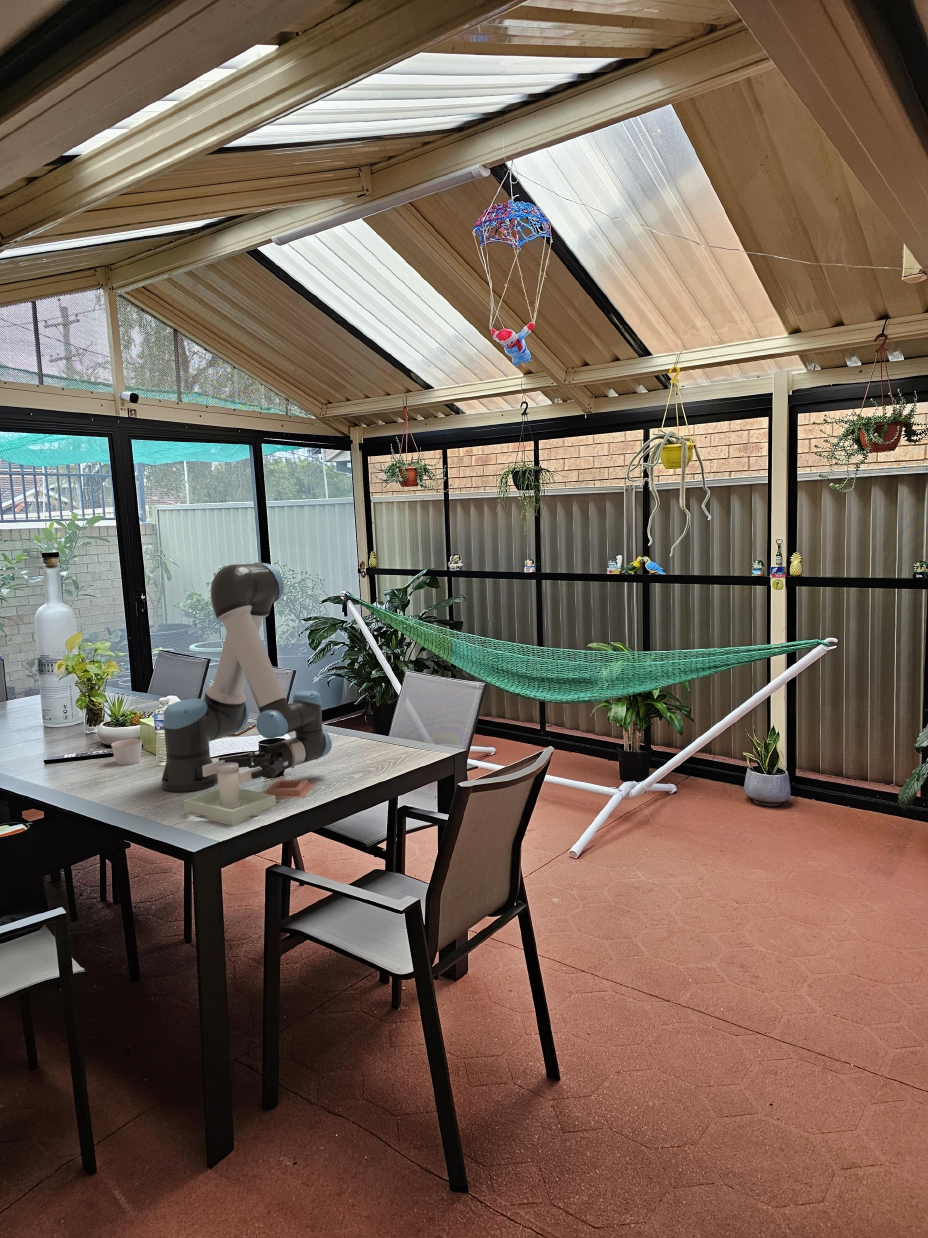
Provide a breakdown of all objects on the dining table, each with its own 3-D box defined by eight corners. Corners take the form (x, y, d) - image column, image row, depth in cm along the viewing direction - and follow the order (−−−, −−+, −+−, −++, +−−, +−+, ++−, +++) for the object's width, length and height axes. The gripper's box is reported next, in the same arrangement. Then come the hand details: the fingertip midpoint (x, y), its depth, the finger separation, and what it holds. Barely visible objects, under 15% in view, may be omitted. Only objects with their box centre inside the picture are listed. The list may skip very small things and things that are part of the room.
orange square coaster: (259, 801, 219) (259, 792, 219) (272, 787, 231) (272, 778, 231) (304, 800, 218) (304, 791, 218) (315, 787, 230) (315, 778, 230)
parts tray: (184, 814, 211) (183, 800, 210) (228, 798, 222) (227, 785, 222) (232, 825, 201) (232, 811, 201) (276, 809, 212) (275, 795, 212)
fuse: (216, 811, 209) (213, 768, 208) (223, 804, 214) (221, 762, 213) (236, 811, 209) (234, 767, 208) (243, 804, 214) (241, 762, 213)
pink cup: (148, 758, 268) (146, 739, 267) (136, 766, 259) (134, 746, 258) (120, 759, 268) (119, 739, 268) (107, 766, 259) (106, 746, 259)
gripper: (318, 774, 220) (256, 797, 202) (253, 763, 234) (190, 782, 216) (317, 746, 219) (254, 766, 201) (251, 736, 233) (188, 754, 215)
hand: (221, 775), depth 209 cm, fingers open, 13 cm apart
